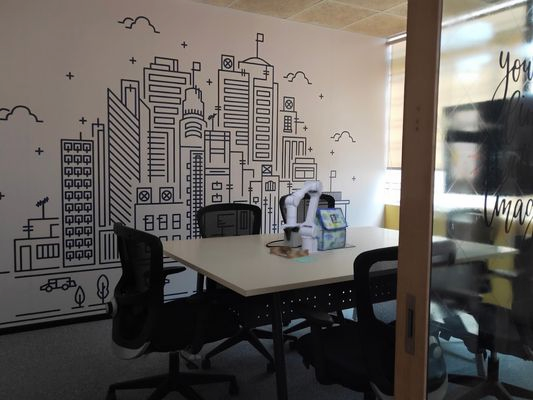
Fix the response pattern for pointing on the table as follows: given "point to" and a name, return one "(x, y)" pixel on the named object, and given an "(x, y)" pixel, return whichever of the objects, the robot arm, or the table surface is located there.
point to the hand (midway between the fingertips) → (291, 240)
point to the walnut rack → (289, 254)
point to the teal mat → (305, 259)
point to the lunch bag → (330, 228)
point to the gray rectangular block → (291, 240)
